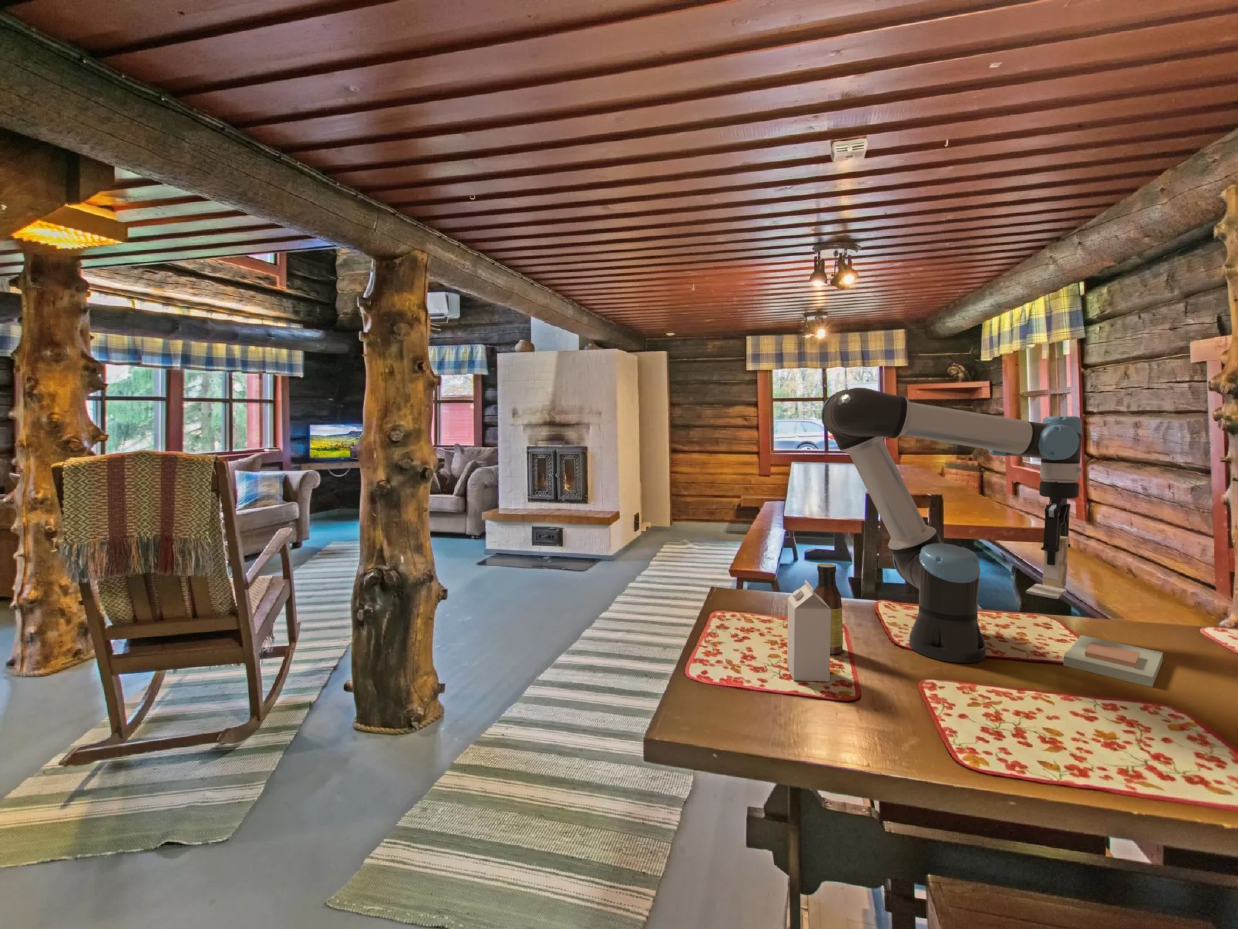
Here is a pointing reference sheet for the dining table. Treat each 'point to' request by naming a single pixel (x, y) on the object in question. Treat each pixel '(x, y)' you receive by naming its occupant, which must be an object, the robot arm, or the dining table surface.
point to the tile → (1112, 655)
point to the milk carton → (808, 636)
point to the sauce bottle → (831, 603)
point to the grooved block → (1140, 675)
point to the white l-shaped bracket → (1054, 586)
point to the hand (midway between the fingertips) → (1054, 575)
